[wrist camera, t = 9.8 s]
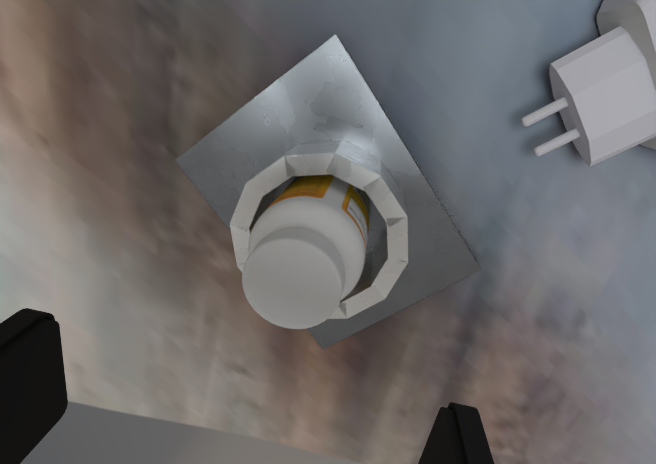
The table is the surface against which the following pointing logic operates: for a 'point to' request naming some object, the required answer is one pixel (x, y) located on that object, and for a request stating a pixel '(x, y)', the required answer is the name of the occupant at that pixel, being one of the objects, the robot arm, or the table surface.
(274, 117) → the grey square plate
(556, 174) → the table surface
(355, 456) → the table surface
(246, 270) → the supplement bottle
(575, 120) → the charger
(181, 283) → the table surface
